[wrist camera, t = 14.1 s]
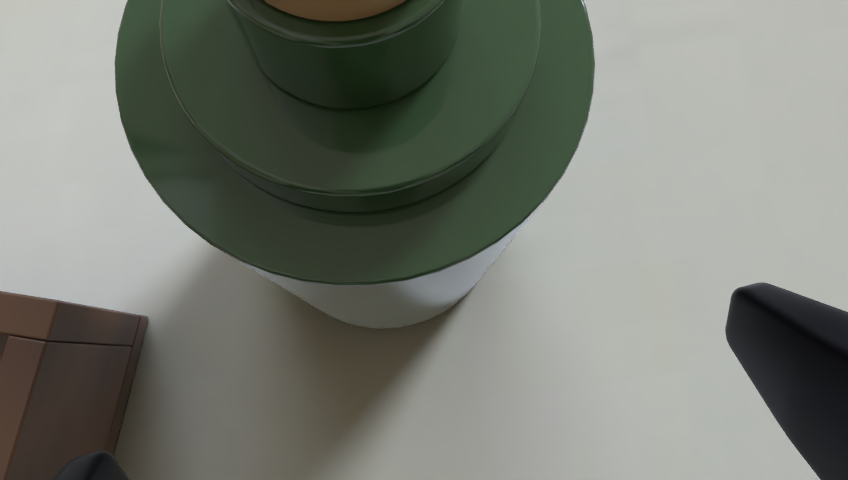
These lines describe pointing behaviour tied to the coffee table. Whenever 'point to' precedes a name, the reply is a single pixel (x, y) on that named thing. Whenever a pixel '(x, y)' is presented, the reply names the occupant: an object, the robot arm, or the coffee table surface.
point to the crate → (61, 381)
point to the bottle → (356, 135)
